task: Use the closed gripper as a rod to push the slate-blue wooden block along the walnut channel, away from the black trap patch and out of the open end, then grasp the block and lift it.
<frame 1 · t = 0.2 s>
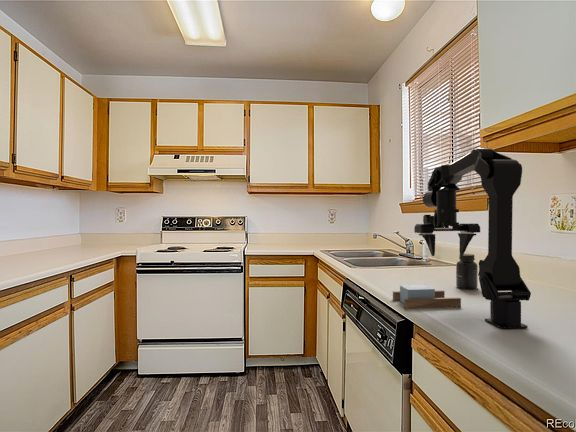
hand: (447, 255, 109), 13 cm above the counter, fingers open, 9 cm apart
supplement bottle: (466, 288, 124), on the counter
slate block: (417, 304, 103), on the counter
trap channel: (425, 303, 103), on the counter
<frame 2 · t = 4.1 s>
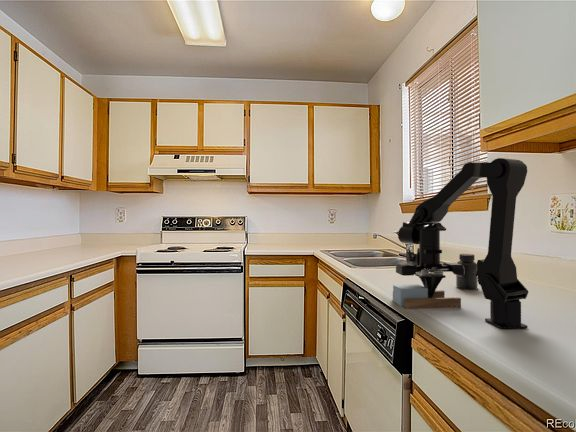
hand: (429, 297, 103), 2 cm above the counter, fingers closed
slate block: (410, 303, 103), on the counter, touching gripper
everything else where it was.
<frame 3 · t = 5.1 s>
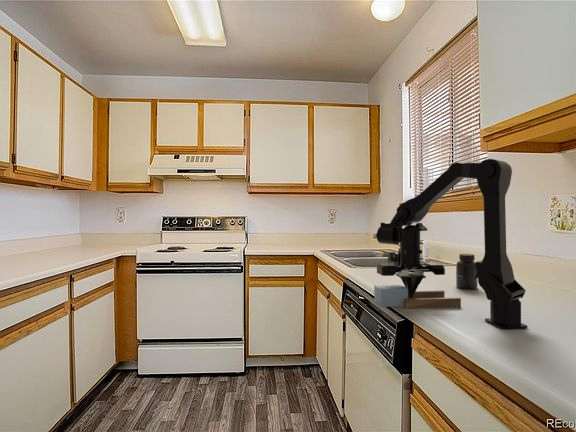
hand: (410, 298, 103), 2 cm above the counter, fingers closed
slate block: (390, 303, 103), on the counter, touching gripper
everything else where it was.
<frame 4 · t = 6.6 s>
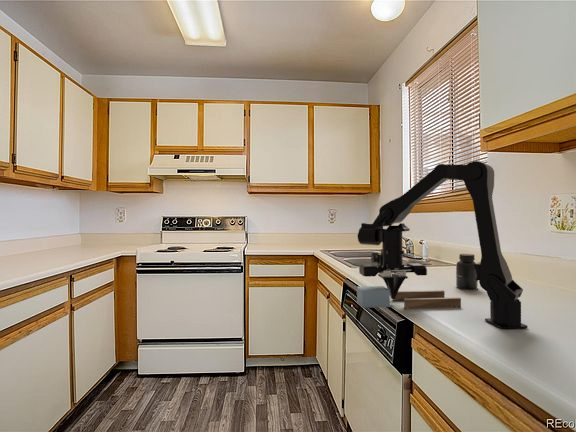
hand: (392, 298, 103), 2 cm above the counter, fingers closed
slate block: (373, 305, 102), on the counter
everything else where it was.
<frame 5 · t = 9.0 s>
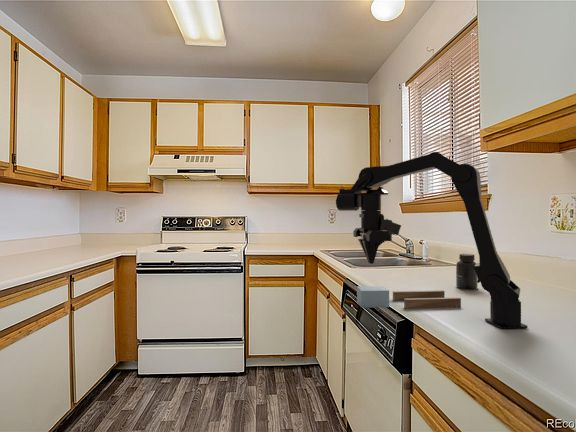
hand: (371, 263, 102), 12 cm above the counter, fingers closed
nothing on the counter moved.
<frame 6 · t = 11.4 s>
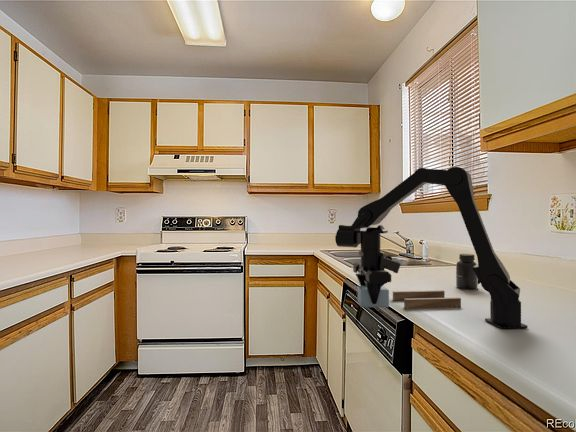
hand: (370, 300, 102), 1 cm above the counter, fingers closed on slate block, 6 cm apart
slate block: (372, 304, 102), on the counter, touching gripper
everything else where it was.
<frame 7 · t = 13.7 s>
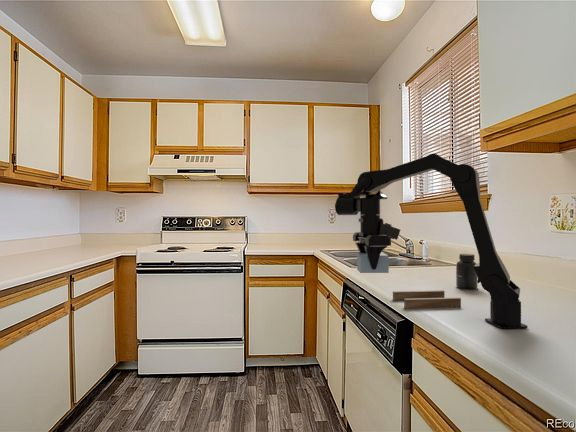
hand: (370, 267, 102), 11 cm above the counter, fingers closed on slate block, 6 cm apart
slate block: (372, 271, 102), point 10 cm above the counter, touching gripper
everything else where it was.
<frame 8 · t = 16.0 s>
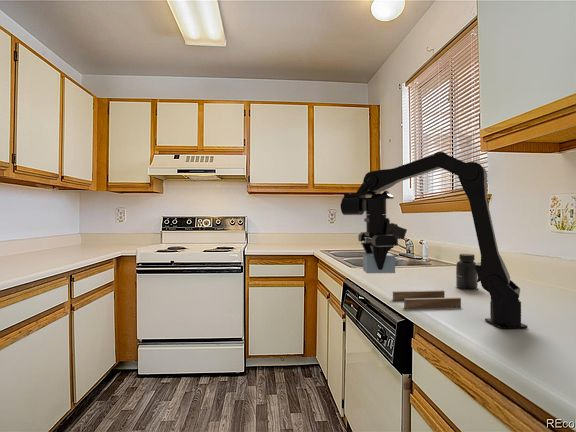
hand: (376, 268, 101), 11 cm above the counter, fingers closed on slate block, 6 cm apart
slate block: (378, 271, 101), point 10 cm above the counter, touching gripper
everything else where it was.
at the end: the gripper is holding slate block; slate block inside the target area (1.9 cm from its centre), point 9.9 cm above the counter; slate block tilted 0° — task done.
